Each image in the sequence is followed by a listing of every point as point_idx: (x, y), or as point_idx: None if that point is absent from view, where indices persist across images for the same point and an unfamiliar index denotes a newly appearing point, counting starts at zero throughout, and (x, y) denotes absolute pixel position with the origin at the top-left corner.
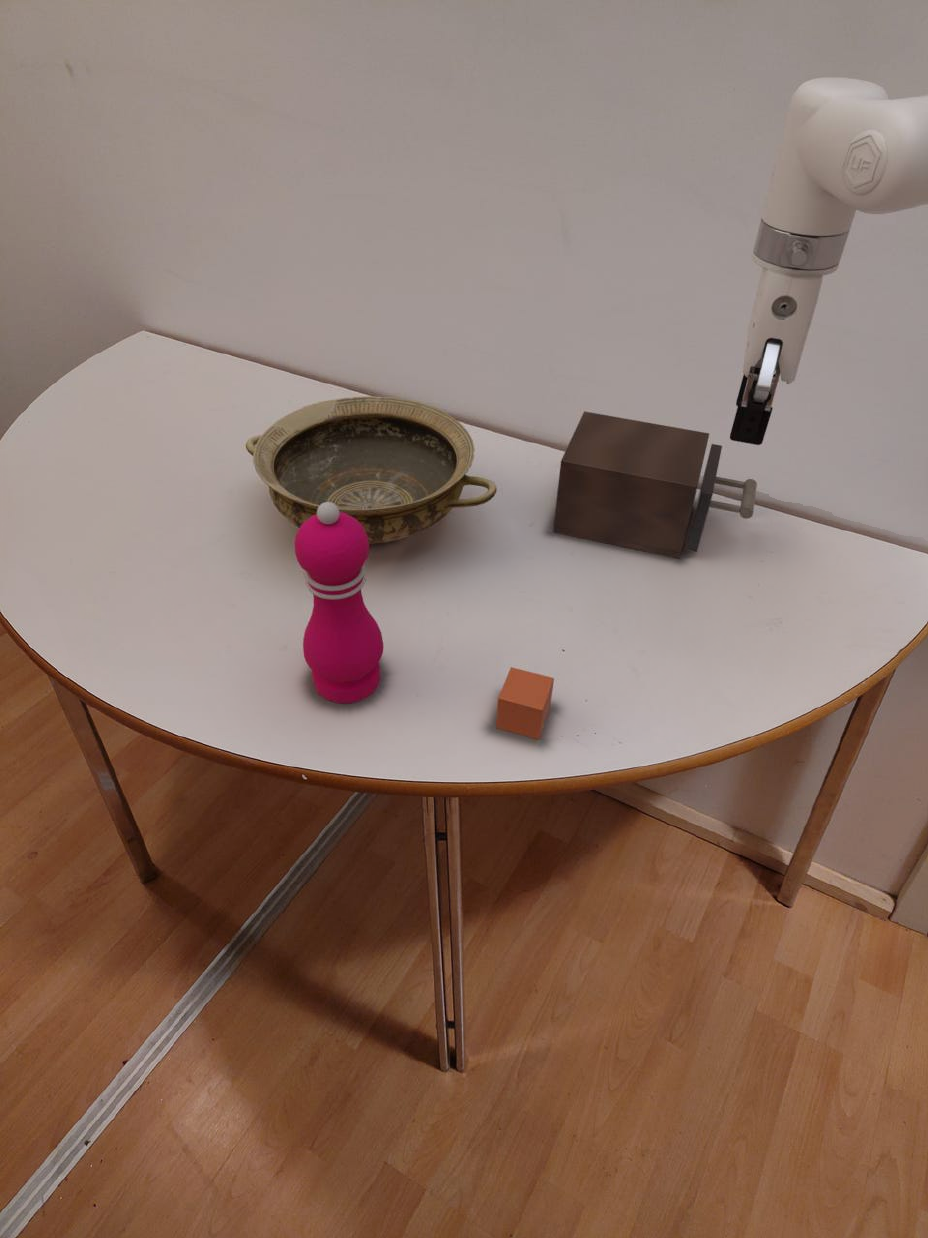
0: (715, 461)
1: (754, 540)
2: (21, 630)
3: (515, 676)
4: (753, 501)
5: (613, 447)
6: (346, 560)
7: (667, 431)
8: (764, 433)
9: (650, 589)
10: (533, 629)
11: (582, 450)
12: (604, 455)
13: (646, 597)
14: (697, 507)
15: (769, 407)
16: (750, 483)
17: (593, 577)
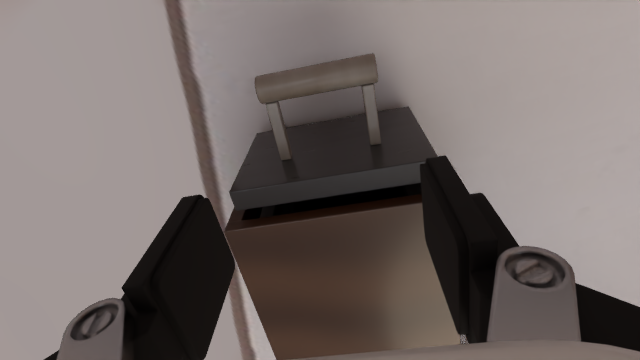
0: (303, 187)
1: (301, 24)
2: None
3: None
4: (337, 66)
5: (381, 341)
6: None
7: (271, 292)
8: (455, 175)
9: (509, 137)
10: (634, 231)
11: None
12: (416, 344)
13: (530, 136)
14: None
15: (571, 271)
16: (276, 92)
17: (506, 208)
